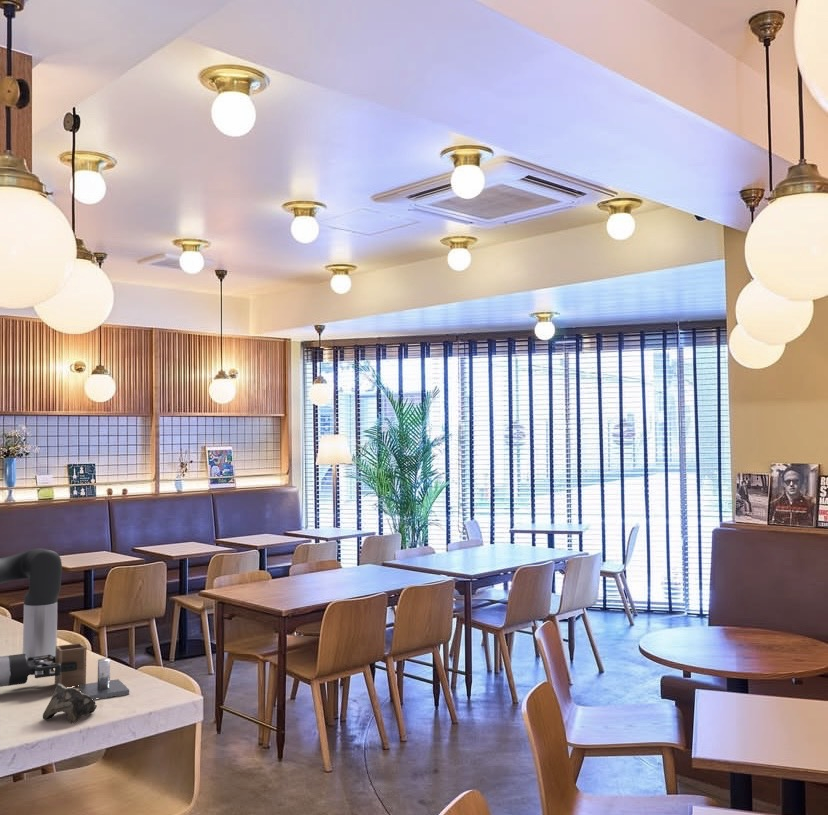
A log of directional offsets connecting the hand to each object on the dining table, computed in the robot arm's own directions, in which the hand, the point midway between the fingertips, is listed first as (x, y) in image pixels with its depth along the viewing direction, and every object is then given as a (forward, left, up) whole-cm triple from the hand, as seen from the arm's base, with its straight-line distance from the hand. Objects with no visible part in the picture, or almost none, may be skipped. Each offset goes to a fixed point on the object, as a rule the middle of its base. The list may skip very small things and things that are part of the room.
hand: (73, 662), depth 219 cm
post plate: (+12, +5, -6) cm, 14 cm away
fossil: (+29, -5, -6) cm, 30 cm away
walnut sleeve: (0, -1, -6) cm, 6 cm away
